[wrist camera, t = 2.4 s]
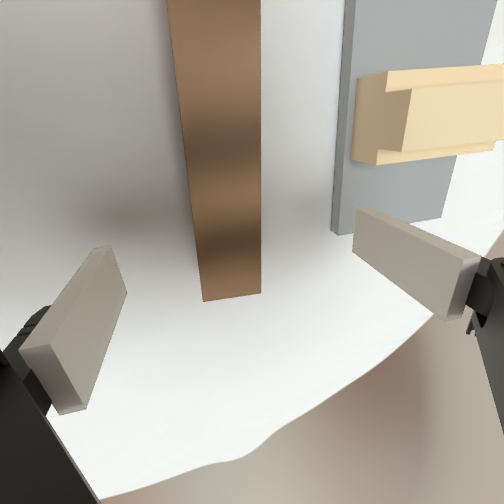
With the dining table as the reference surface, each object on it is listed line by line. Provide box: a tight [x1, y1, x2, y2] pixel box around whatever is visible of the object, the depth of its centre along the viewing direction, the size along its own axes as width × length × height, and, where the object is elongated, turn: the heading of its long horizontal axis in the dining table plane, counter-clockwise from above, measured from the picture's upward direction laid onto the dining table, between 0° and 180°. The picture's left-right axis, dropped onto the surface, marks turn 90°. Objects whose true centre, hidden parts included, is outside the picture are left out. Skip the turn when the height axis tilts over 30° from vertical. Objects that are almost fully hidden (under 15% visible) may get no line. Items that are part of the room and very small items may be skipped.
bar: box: [166, 0, 261, 302], centre depth 16 cm, size 20×4×5 cm, turn 1°
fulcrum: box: [331, 0, 504, 236], centre depth 18 cm, size 17×10×6 cm, turn 5°
